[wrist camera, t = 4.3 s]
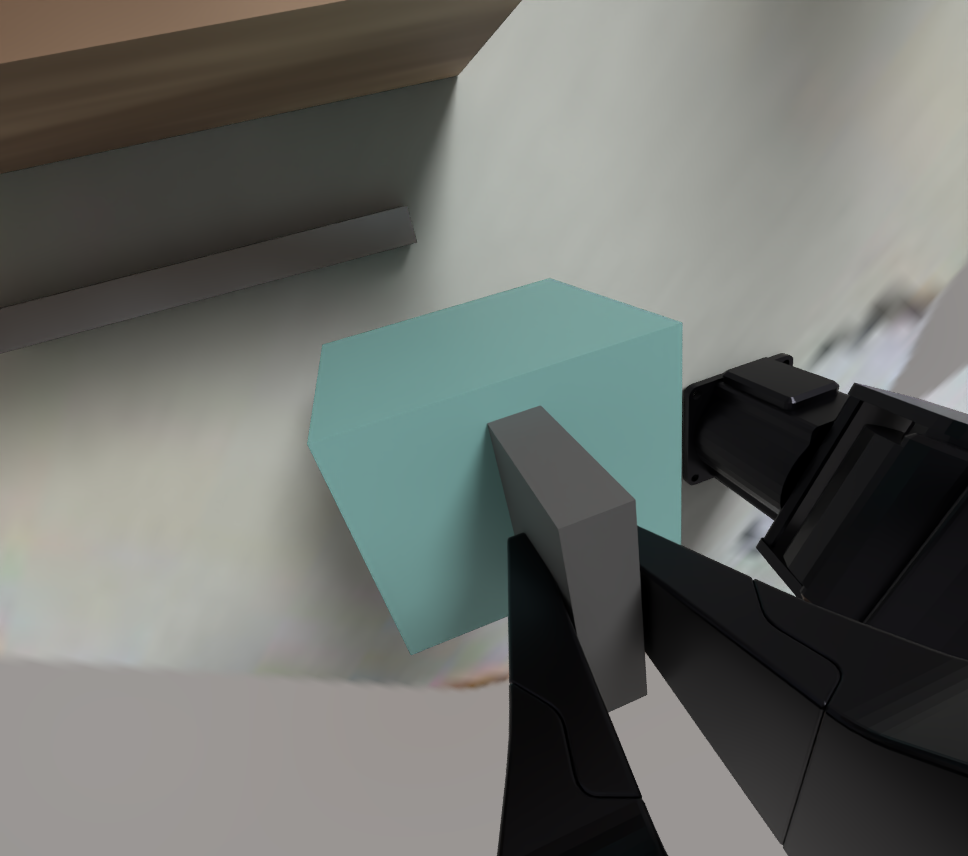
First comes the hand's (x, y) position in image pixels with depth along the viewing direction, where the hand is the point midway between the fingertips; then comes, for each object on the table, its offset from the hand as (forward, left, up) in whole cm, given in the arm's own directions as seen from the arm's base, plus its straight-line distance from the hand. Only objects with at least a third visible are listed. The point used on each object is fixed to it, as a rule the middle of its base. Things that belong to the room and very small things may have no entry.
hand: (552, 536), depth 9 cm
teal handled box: (0, 0, -8) cm, 8 cm away
